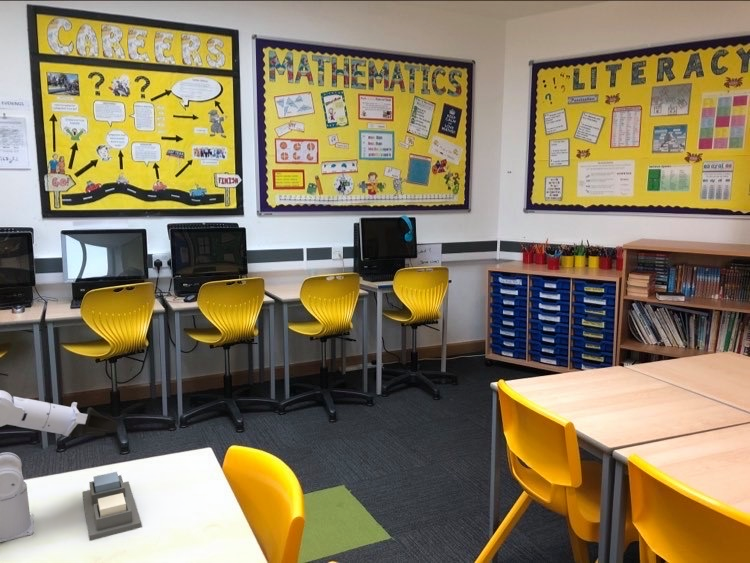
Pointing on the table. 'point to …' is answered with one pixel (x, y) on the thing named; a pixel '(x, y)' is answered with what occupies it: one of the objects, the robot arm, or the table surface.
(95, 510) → the key board
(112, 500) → the white key
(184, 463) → the table surface
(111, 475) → the blue key
